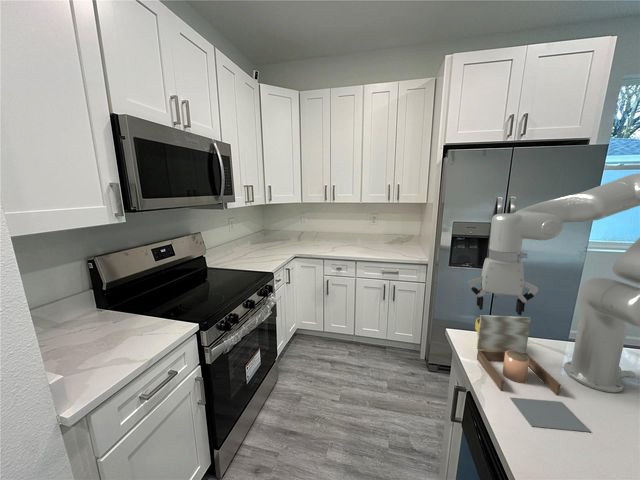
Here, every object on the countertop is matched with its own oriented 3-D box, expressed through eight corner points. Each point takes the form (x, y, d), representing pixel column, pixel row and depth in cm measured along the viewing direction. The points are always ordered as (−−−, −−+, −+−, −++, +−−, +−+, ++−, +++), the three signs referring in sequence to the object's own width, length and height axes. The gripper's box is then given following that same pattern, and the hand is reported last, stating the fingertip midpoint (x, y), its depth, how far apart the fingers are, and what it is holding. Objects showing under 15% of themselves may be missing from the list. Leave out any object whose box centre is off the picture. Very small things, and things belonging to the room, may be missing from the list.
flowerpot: (518, 370, 82) (521, 350, 81) (531, 384, 76) (534, 362, 75) (498, 369, 83) (501, 349, 82) (509, 382, 77) (512, 361, 76)
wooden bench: (523, 360, 87) (529, 317, 84) (558, 395, 72) (567, 344, 69) (475, 357, 89) (480, 315, 86) (500, 390, 74) (506, 340, 71)
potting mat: (561, 402, 69) (561, 401, 69) (591, 432, 61) (591, 431, 61) (509, 397, 71) (509, 397, 71) (531, 426, 62) (531, 425, 62)
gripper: (537, 255, 74) (530, 310, 77) (468, 251, 81) (465, 301, 84) (546, 261, 67) (539, 321, 70) (471, 256, 75) (467, 311, 78)
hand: (498, 310), depth 77 cm, fingers open, 9 cm apart
